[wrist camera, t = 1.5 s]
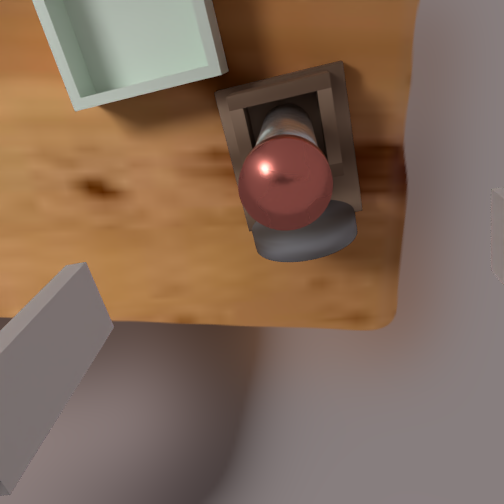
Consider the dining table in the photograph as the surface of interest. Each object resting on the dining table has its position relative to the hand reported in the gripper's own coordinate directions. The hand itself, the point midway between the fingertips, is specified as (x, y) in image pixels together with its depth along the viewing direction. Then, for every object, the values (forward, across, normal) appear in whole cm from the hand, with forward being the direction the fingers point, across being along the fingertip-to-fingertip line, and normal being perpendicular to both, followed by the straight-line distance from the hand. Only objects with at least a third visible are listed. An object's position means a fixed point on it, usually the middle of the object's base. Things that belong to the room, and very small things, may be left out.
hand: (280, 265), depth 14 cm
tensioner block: (+25, 0, -2) cm, 25 cm away
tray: (+24, -10, +11) cm, 29 cm away
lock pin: (+23, 0, 0) cm, 23 cm away
